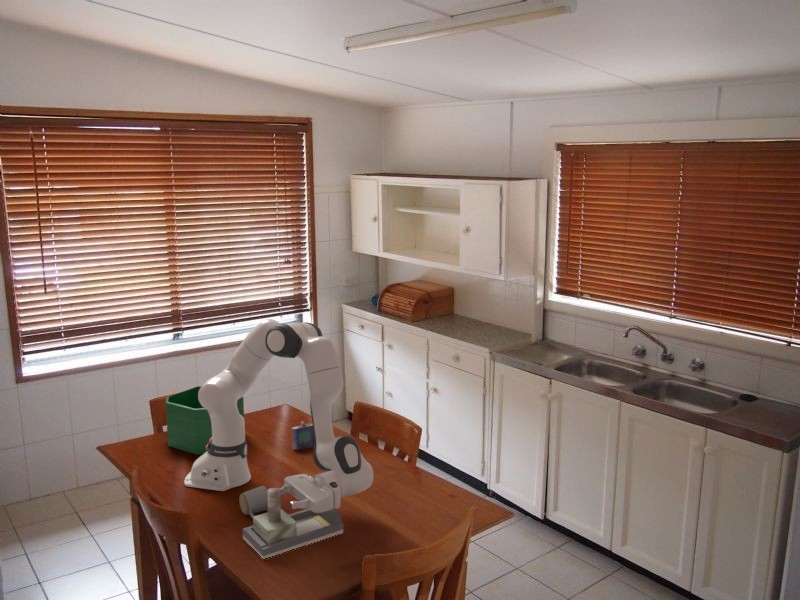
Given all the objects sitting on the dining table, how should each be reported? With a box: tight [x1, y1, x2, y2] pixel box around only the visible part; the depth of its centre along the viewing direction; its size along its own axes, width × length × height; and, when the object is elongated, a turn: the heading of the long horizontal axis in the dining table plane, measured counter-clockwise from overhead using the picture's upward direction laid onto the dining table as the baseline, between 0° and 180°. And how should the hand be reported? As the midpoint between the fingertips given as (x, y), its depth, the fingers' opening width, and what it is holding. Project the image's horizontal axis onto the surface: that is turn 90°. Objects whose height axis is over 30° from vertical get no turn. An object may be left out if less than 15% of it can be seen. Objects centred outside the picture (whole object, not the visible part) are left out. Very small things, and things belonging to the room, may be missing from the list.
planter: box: [165, 385, 245, 455], centre depth 278 cm, size 26×26×18 cm
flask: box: [291, 420, 314, 451], centre depth 272 cm, size 9×3×11 cm, turn 121°
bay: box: [242, 508, 344, 560], centre depth 207 cm, size 26×14×5 cm, turn 126°
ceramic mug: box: [238, 485, 268, 519], centre depth 220 cm, size 11×8×8 cm
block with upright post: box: [252, 487, 297, 546], centre depth 203 cm, size 9×10×15 cm
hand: (284, 499), depth 204 cm, fingers open, 8 cm apart
